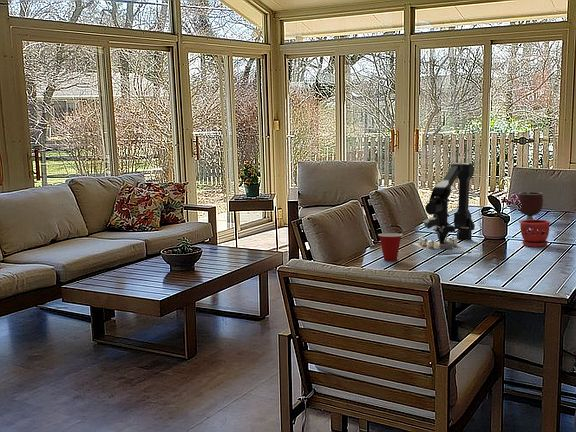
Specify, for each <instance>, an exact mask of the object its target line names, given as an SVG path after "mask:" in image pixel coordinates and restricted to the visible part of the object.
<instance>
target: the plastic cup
mask: <svg viewBox="0 0 576 432" xmlns="http://www.w3.org/2000/svg"><path fill="white" fill-rule="evenodd" d="M377 235H378V237H379V240H380V245H381V250H382V255H383V256H382V257H383V259H384V261H387V262H394V261H396V262H397V260H398V255H399V251H400V244H401V239H402V237H403V234H402V233H397V232H395V233H393V232H392V233H388V232H387V233H386V232H385V233H378V234H377Z"/></svg>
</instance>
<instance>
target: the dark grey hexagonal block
mask: <svg viewBox="0 0 576 432" xmlns="http://www.w3.org/2000/svg"><path fill="white" fill-rule="evenodd" d="M448 241H449V240H447V241H443V242H439V241H438V242H439V248H438V249H440V250H452V249H453V248H454V247H453V243H452V242H448Z"/></svg>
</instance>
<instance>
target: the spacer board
mask: <svg viewBox="0 0 576 432" xmlns="http://www.w3.org/2000/svg"><path fill="white" fill-rule="evenodd" d="M447 241H448V242H449V240H447ZM412 245H414V246H416V247H419V248H421V249H423V250H432V249H435V250H436V249H440V248H439V241H434V248H432V249H430V248H428V241H427V246H426V247H423V246H422V244H419V242H416V243H412ZM458 247H459V248H460V247H463V245H462V244H459V243H457V247H456V248H458Z"/></svg>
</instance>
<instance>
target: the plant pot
mask: <svg viewBox="0 0 576 432" xmlns="http://www.w3.org/2000/svg"><path fill="white" fill-rule="evenodd" d="M519 224H520V233H521V237H522V244H523V245H524V246H527V247H534V248H536V247H537V248H541V247H545V246H547V245H548V244H549V240H547V239H548V237H549V234H550V221H549V220H546V219H534V220H524V221H521V222H519Z"/></svg>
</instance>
